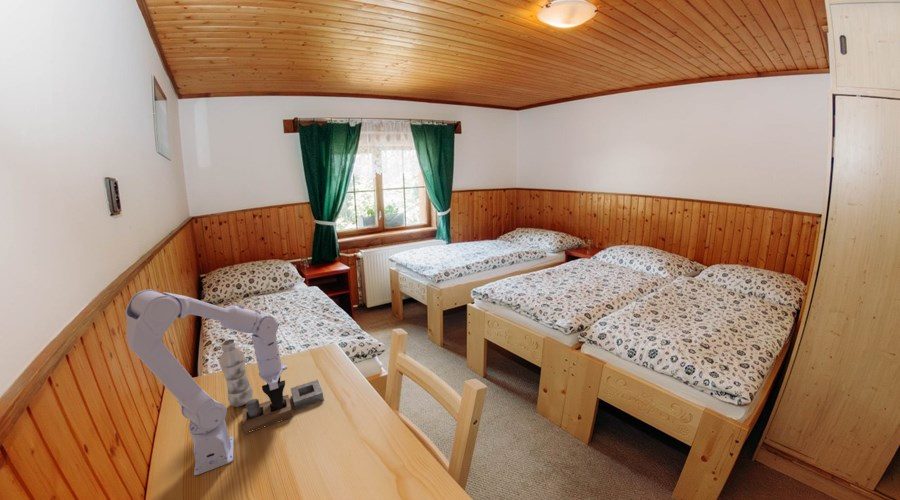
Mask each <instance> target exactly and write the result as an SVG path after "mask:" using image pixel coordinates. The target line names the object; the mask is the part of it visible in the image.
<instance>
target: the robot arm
mask: <svg viewBox="0 0 900 500" xmlns="http://www.w3.org/2000/svg"><path fill="white" fill-rule="evenodd" d="M161 292H162V293H160V292H159V291H157V290H155V289H142V290H141V291H138V292H136V293H135V294H134V295H132V296H131V298H130V300H129V302H128V303H127V306H126V307H125V310H124V314H125V317H126V318H125V319H126V344H127V346H128V348H129V349H130V350H131V351H132V352H133V353H134V354H135V356H137V357H138V359H139V360H140V361H142V363H143V364H144V365H145V366H146V367H147V368H148V369H149V371H150V372H152V374H153V375H154V376H155V377H156V378H157V379H158V380H159V382H161V384H162V385H163V386H164V387H165V388H166V389H167V390H168V391H169V392H170V393H171V394H172V396H173V397H174V398H175V399H176V401H177V403H178V404H179V405H180V410H181V414H182V416H183V417H184V418H186V419H188V420H189V425H188V430H189V433H190V437H191V440H192V444H193V451H192V452H193V456H194V459H195V464H194V469H193V476H198V475H200V474H203V473H207V472H209V471H211V470H214V469H216V468H219V467H222V466H225V465H227V464H230V463H233V462H234V449H235V448H234V443H235V442H234V441H235V439H234V438H235V437H234V436H230V435H229V430H228V427H227V423H226V417H227V414H228V413H227V412H228V409H227V407H226V405H225V404H223V403H221V402H219V401H218V400H216V399H214V398H212V397H211V395H209V394H208V392H206V391H205V390H204V389H203V388H202V387H201V386H200V385H199V384H198V383H197V381H196V380H195V379H194V377H192V375H190V373H189V372H188V370H187V369H185V367H184V366H183V365H182V364H181V362H180V361H179V360H178V359H177V358H176V357H175V355H174V354H173V353H172V352H171V351H170V349H168V347H167V346H166V345H165V344H164V342H163V341H162V339H163V338H164V335H165V333H166V332H167V331H168V329H169V328H170V327H171V326H172V324H173V323H174V322H175V320H177V318H178V319H184V318H186V317H188V316H189V315H192V316H197V317H198V316H199V317H201V318H205V319H206V318H207V319H210V320H214V321H215V320H216V321H219V323H220V325H221V326H222V328H225V329H228V330H232V331H237V332H242V333H245V334H251V340H252V344H253V348H254V353H255V359H256V363H257V368H258V376H259V378H260V379H262V380H263V381H264V382H265V384H264V385H261V390H262V392H263V393H264V394H265V395H266V396H267V397H268V398H269V401H271V403H272V405H273V406H274V407H277V406H280V405H282V401H283V396H284V388H285V386H286V380H281V375H282V374H283V372H284V371H286V370H288V366H287V364H282V358H281V355H280V349H279V345H278V340H277V332H278V329H279V322H278V321H277V320H276V319H275V318H274V317H273V316H271V315H267V314H265V313H262V312H261V311H260V310H258V309H255V310H251V309H249V308H246V306H245V305H242V304H239V303H238V304H236V305H235V304H231V305H229V306H227V307H222V306H219V305H218V306H217V305H216V304H212V303H209V302H205V301H202V300H199V299H196V298H193V297H191V296H187V295H184V294H183V295H182V294H176V293H171V292H165V291H161Z"/></svg>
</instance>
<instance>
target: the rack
mask: <svg viewBox="0 0 900 500" xmlns="http://www.w3.org/2000/svg"><path fill="white" fill-rule="evenodd" d="M283 397H284V402H285V408H282V409H279V410H276V411H274V408H273V405H272V403H271V401H270V400H268V401H264V402H261V403H260V402H259V401H260V400H259V399H258V398H253V399H252V398H251V400H250V401H248V402H247V403H246V404H245V405H246V407H245V408H243V409H242V428H243V433H244V434H245V433H246V434H248V433H247V432H249V431H252V430H255V431H257V430H256V429H258V428H261V429H263V428H265V427H264V426H266V427H269V426H271V424H272V425H274V423H275V424H277V423H276V422H278V421H280V422H282V421H281V420H283V421H286V420H288V418H289V419H292V418H293V417H294V415H293V411H292V405H291V402H290V397H289V394H286V395H283ZM291 417H292V418H291ZM285 419H286V420H285ZM278 423H279V422H278ZM268 425H269V426H268ZM262 427H263V428H262ZM258 430H259V429H258ZM252 432H253V431H252ZM249 433H250V432H249Z"/></svg>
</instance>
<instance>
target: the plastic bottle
mask: <svg viewBox="0 0 900 500" xmlns="http://www.w3.org/2000/svg"><path fill="white" fill-rule="evenodd" d="M220 345H221V351H222V353H221V355H220V358H219V362H218V364H219V367H220V368H221V369H220V370H222V373H223V376H224V378H225V382H226V389H227V401H228V403H229V404H230V405H231V406H233V407H235V408H236V407H242V406H245V405H246V403H247V402H248V401H250V400H252V398H253V393H254V392H253V391H254V390H253V389H252V386H251V384H250V382H249V379H248V376H247V370H246V361H245V360H246V359H245V354H244V352H243V351H242V350H241V349H239V348H238V344H237V342H236V339H233V338H232V339H227V340H224V341H223V342H221V344H220Z"/></svg>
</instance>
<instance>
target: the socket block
mask: <svg viewBox="0 0 900 500" xmlns="http://www.w3.org/2000/svg"><path fill="white" fill-rule="evenodd" d="M321 387H322V386H321V385H320V382H319V380H318V379H315V380H313V381H308V382H306V383H303V384H300V385H296V386H292V387H290V392H291V397H292V402H293V406H294V410H296V411H297V410H300V409H302V408H304V407H308V406H310V405H313V404H317V403H319V402H322V401H324V394H323V393H324V392H323V390H322V388H321Z"/></svg>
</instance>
